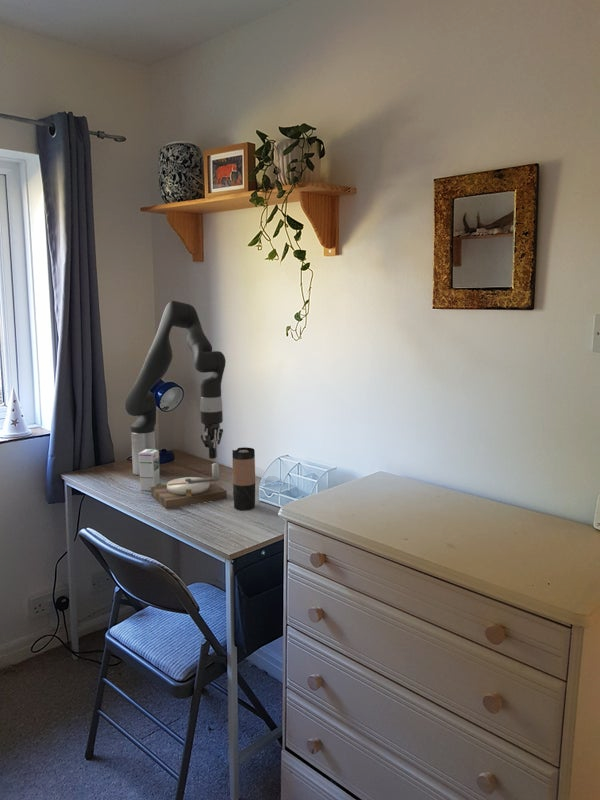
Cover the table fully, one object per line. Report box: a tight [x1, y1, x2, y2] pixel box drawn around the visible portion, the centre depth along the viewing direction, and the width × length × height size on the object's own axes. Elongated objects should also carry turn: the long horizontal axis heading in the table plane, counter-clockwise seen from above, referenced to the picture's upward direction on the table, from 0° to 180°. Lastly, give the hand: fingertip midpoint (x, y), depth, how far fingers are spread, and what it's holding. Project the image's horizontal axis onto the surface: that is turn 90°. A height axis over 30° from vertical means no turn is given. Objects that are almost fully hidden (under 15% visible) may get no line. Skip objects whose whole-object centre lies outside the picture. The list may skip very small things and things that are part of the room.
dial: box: [166, 462, 220, 495], centre depth 229 cm, size 19×15×8 cm
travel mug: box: [231, 446, 256, 511], centre depth 217 cm, size 8×8×20 cm
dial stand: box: [150, 481, 228, 510], centre depth 229 cm, size 18×22×5 cm
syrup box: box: [138, 448, 162, 492], centre depth 239 cm, size 6×6×14 cm
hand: (213, 458), depth 224 cm, fingers closed
